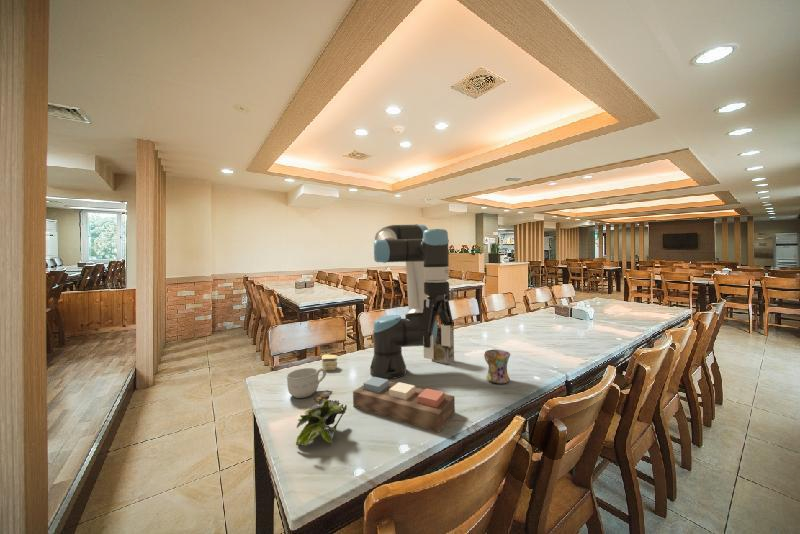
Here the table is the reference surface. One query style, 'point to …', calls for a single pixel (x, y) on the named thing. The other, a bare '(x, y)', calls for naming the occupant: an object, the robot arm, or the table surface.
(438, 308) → the robot arm
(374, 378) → the key blue
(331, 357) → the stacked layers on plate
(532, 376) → the table surface
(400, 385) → the key cream
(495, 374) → the mug
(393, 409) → the key panel
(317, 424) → the green leafy cluster
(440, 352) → the coffee box
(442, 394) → the key red
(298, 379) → the teacup
